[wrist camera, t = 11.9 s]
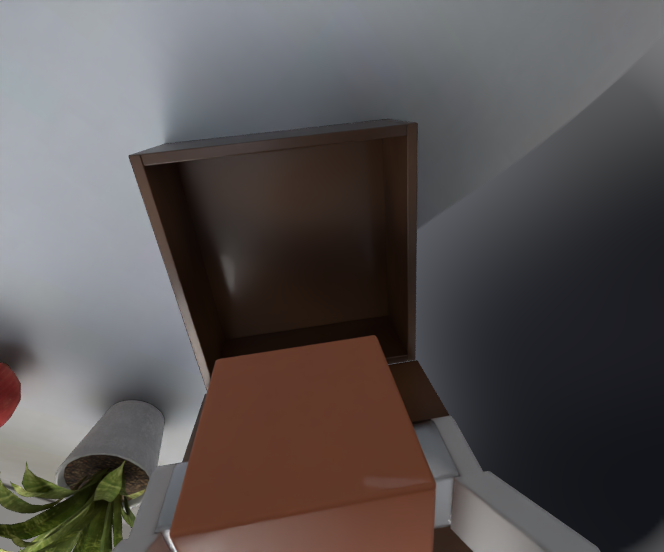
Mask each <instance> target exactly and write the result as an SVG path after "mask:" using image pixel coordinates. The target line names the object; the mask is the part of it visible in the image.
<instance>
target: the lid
mask: <svg viewBox="0 0 664 552" xmlns="http://www.w3.org/2000/svg"><path fill="white" fill-rule="evenodd" d="M388 366H389V368H390V371H391V373H392V376H393V378H394V381H395V383H396V386H397V388H398V390H399V393H400V395H401V398H402V400H403V403H404V405H405V408H406V410H407V413H408V415H409V418H410V420H411V422H415V421H420V420H426V419H433V418H439V417H445V416H450V415H449V414H448V412H447V410H446V409H445V407H444V405H443V403H442V402H441V400H440V398H439V397H438V395H437V393H436V392H435V390H434V388H433V386H432V385H431V383H430V381H429V379H428V378H427V376H426V374H425V373H424V371H423V369H422V367H421V366H420V364H419V362H418V361H417V360H416V361H410V362H403V363H397V364H391V365H388ZM206 395H207V394H205V396H204V399H203V402H202V405H201V408H200V411H199V414H198V416H197V419H196V422H195V425H194V428H193V431H192V434H191V437H190V440H189V443H188V446H187V449H186V452H185V455H184V458H183V461H182V462H188V461H189V458H190V454H191V450H192V447H193V443H194V439H195V436H196V432H197V428H198V424H199V421H200V417H201V413H202V410H203V406H204V402H205V398H206ZM433 552H473V551H472V550H471V549H470V548H469V547H468V546H467V545H466V544H465V543H464V542H463V541H462V540H461V538H460V537H459V536H458V535H457V534H456V533H455V532H454V531H453V530H452V529H451V526H448V527H442V528H436V529H434V545H433Z"/></svg>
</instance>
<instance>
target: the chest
mask: <svg viewBox="0 0 664 552" xmlns="http://www.w3.org/2000/svg"><path fill="white" fill-rule="evenodd" d="M417 144H418V124H417V123H415V122H407V121H400V120H393V119H382V120H373V121H364V122H355V123H346V124H337V125H328V126H319V127H310V128H301V129H292V130H283V131H274V132H265V133H256V134H247V135H238V136H229V137H220V138H211V139H202V140H193V141H184V142H175V143H167V144H162V145H159V146H156V147H153V148H150V149H147V150H144V151H141V152H138V153H135V154H132V155H129V159H130V162H131V165H132V168H133V171H134V174H135V177H136V180H137V183H138V186H139V189H140V192H141V195H142V198H143V201H144V204H145V207H146V210H147V213H148V216H149V219H150V222H151V225H152V228H153V231H154V234H155V237H156V240H157V243H158V246H159V249H160V252H161V255H162V258H163V261H164V264H165V267H166V270H167V273H168V276H169V279H170V282H171V285H172V288H173V291H174V294H175V297H176V300H177V303H178V306H179V309H180V312H181V315H182V318H183V321H184V324H185V327H186V330H187V333H188V336H189V339H190V342H191V345H192V348H193V351H194V354H195V357H196V360H197V363H198V366H199V369H200V372H201V375H202V378H203V381H204V384H205V387H206V390H207V391H208V387H209V384H210V380H211V376H212V372H213V369H214V365H215V361H216V360H218V359H222V358H229V357H235V356H242V355H248V354H255V353H261V352H268V351H274V350H281V349H287V348H294V347H300V346H307V345H313V344H320V343H326V342H333V341H339V340H346V339H352V338H359V337H365V336H372V335H375V336H376V337H377V339H378V341H379V343H380V346H381V348H382V351H383V353H384V356H385V358H386V361H387V363H388V364H393V363H399V362H406V361H407V360H408V361H412V360H415V339H416V336H415V335H416V334H415V333H416V241H417V239H416V238H417Z"/></svg>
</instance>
